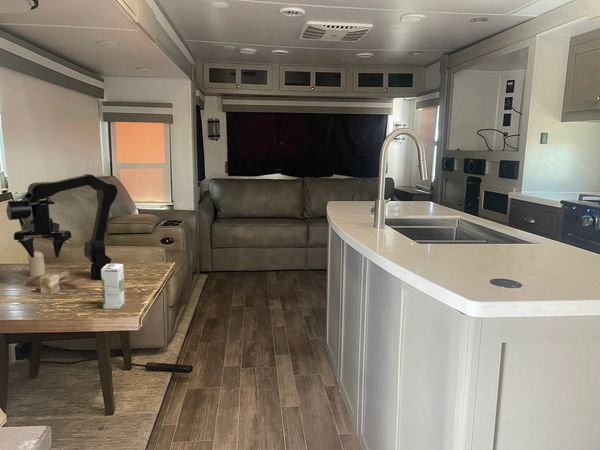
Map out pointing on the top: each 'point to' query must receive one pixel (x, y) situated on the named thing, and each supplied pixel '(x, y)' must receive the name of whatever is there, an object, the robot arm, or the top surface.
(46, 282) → the gauge
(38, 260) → the candle
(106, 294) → the syrup box
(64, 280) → the board
